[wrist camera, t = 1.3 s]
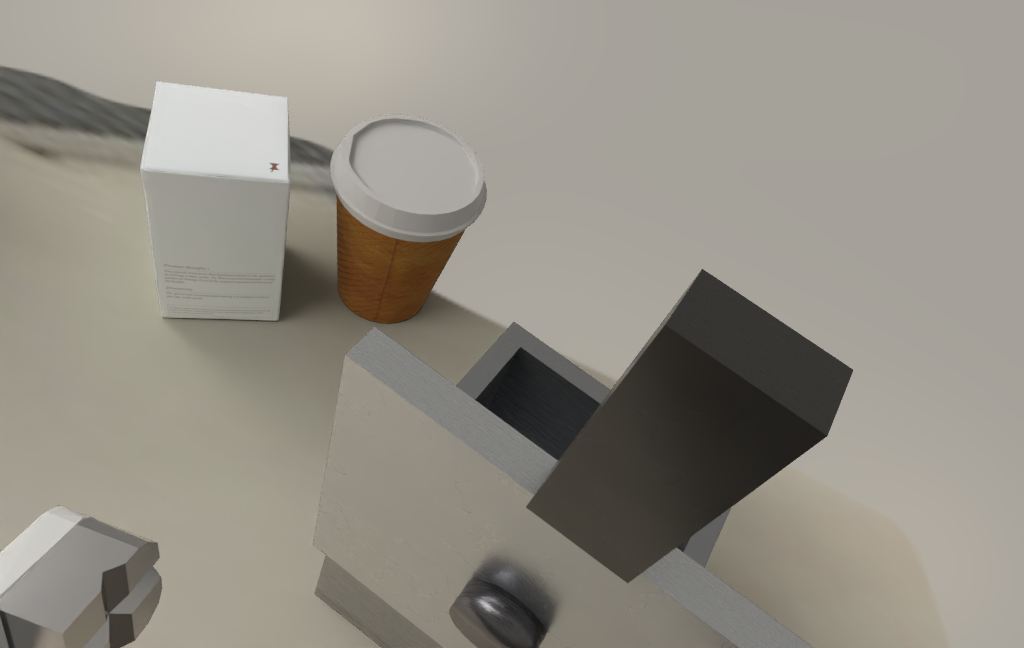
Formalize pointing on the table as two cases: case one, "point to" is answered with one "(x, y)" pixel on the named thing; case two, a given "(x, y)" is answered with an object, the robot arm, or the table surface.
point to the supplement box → (217, 201)
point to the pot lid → (574, 487)
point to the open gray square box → (532, 412)
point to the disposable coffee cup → (400, 211)
